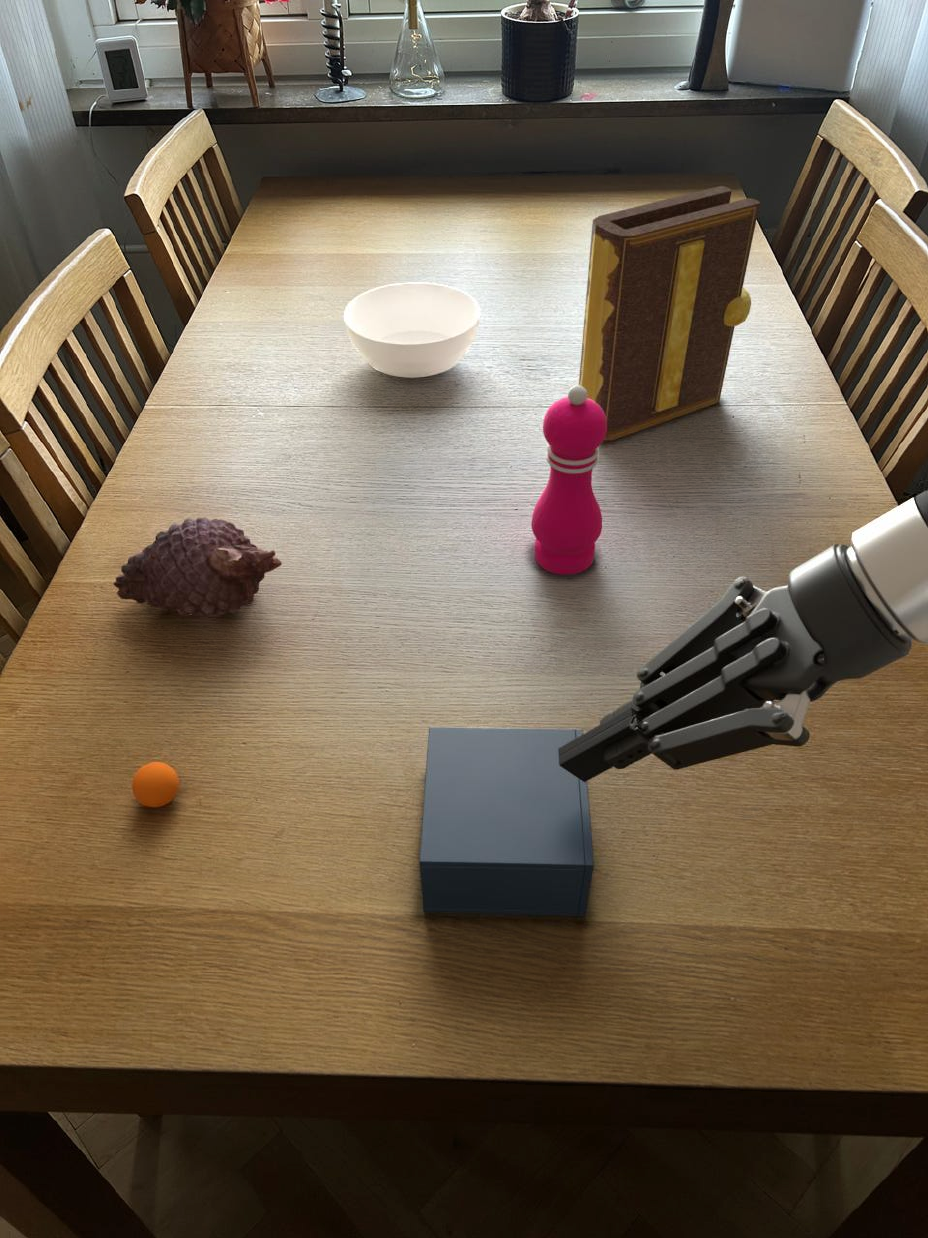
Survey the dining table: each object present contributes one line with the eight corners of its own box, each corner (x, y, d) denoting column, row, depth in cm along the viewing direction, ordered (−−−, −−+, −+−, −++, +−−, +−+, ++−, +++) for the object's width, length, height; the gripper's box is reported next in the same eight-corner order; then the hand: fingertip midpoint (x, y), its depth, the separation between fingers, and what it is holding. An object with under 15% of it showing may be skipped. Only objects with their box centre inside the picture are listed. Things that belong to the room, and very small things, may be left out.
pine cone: (107, 646, 89) (75, 545, 87) (158, 620, 98) (130, 529, 96) (276, 614, 85) (247, 507, 83) (312, 591, 94) (287, 494, 92)
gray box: (583, 729, 72) (429, 726, 72) (594, 865, 63) (419, 862, 64) (576, 782, 77) (432, 780, 77) (586, 916, 68) (423, 913, 69)
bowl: (327, 384, 124) (321, 333, 119) (376, 323, 137) (372, 275, 132) (458, 404, 120) (457, 352, 115) (496, 339, 133) (496, 290, 128)
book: (604, 449, 112) (628, 242, 95) (564, 417, 118) (579, 215, 100) (742, 400, 120) (786, 200, 103) (698, 372, 126) (734, 177, 108)
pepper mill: (583, 529, 101) (600, 362, 87) (608, 571, 96) (631, 400, 82) (520, 541, 100) (527, 373, 86) (542, 584, 95) (554, 412, 81)
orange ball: (182, 776, 74) (142, 754, 74) (158, 816, 73) (118, 794, 73) (191, 775, 77) (153, 754, 77) (168, 813, 77) (130, 792, 77)
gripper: (950, 710, 51) (613, 868, 63) (880, 556, 60) (598, 719, 72) (881, 640, 47) (538, 821, 59) (818, 488, 57) (532, 671, 69)
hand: (571, 765), depth 66 cm, fingers closed
